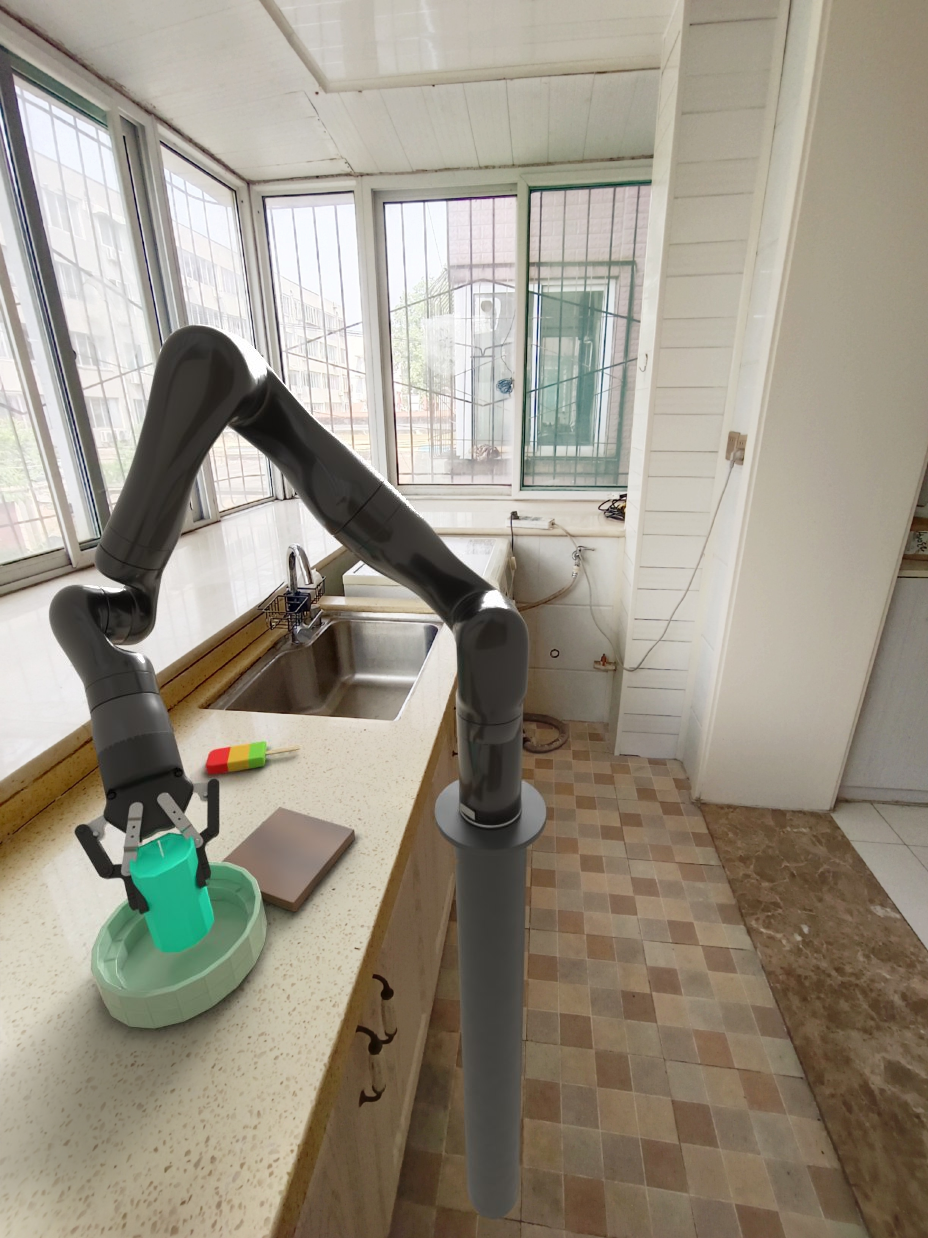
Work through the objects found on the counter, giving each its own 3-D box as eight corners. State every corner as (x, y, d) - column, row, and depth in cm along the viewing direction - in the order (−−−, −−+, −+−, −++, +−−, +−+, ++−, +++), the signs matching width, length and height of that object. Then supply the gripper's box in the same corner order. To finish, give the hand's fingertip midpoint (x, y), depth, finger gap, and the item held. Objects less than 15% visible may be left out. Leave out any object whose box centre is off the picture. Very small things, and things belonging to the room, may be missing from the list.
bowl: (194, 877, 70) (186, 847, 68) (296, 917, 64) (291, 885, 62) (67, 995, 56) (53, 961, 54) (183, 1060, 50) (171, 1024, 48)
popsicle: (211, 758, 94) (209, 748, 93) (300, 743, 98) (299, 734, 97) (205, 777, 89) (203, 767, 88) (300, 761, 93) (298, 752, 92)
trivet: (281, 814, 80) (279, 806, 80) (355, 837, 75) (354, 829, 75) (212, 881, 69) (210, 872, 68) (294, 913, 64) (293, 903, 64)
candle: (223, 926, 58) (200, 840, 54) (164, 965, 55) (134, 875, 50) (202, 894, 62) (179, 811, 58) (145, 928, 59) (116, 842, 54)
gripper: (49, 758, 53) (83, 937, 48) (205, 713, 61) (249, 864, 55) (66, 774, 59) (98, 935, 54) (206, 732, 67) (246, 870, 62)
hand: (174, 898), depth 55 cm, fingers closed on candle, 4 cm apart
